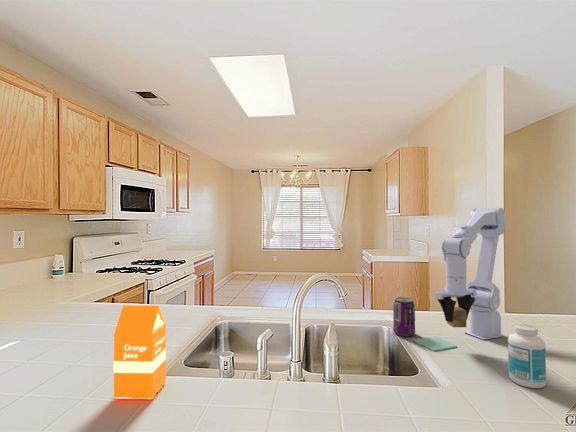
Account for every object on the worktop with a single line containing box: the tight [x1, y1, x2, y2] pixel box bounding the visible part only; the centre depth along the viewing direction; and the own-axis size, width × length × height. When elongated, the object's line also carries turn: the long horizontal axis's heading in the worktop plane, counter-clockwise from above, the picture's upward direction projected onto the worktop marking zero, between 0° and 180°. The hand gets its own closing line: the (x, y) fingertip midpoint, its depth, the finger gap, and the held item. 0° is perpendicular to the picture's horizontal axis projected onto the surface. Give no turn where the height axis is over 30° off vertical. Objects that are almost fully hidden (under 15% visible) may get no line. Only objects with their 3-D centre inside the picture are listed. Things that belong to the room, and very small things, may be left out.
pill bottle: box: [507, 323, 547, 389], centre depth 81 cm, size 8×7×14 cm
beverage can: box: [392, 296, 416, 337], centre depth 115 cm, size 7×7×12 cm
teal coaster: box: [413, 336, 458, 352], centre depth 106 cm, size 9×9×1 cm
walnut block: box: [446, 306, 467, 328], centre depth 103 cm, size 4×4×5 cm
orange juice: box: [113, 304, 167, 398], centre depth 77 cm, size 8×9×20 cm
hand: (456, 320), depth 103 cm, fingers closed on walnut block, 5 cm apart
